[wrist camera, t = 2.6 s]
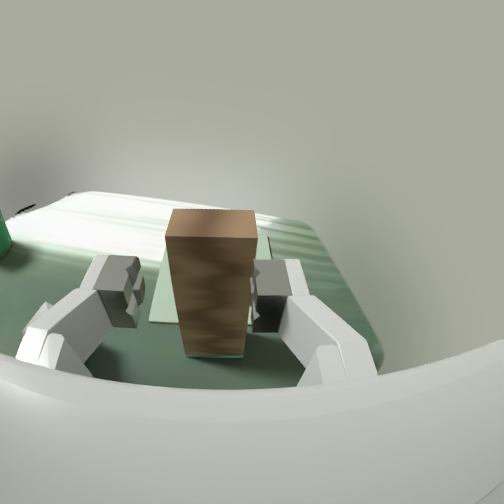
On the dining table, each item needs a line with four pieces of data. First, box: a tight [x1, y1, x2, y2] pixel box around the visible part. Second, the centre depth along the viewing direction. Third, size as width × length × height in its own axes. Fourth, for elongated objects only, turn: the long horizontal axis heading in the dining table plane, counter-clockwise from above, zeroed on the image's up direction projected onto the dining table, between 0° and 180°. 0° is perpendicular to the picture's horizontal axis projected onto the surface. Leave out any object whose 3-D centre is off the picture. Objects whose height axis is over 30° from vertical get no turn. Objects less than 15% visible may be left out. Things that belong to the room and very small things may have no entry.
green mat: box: [149, 235, 271, 325], centre depth 43 cm, size 18×20×1 cm
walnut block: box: [165, 209, 258, 358], centre depth 28 cm, size 7×4×18 cm, turn 94°
